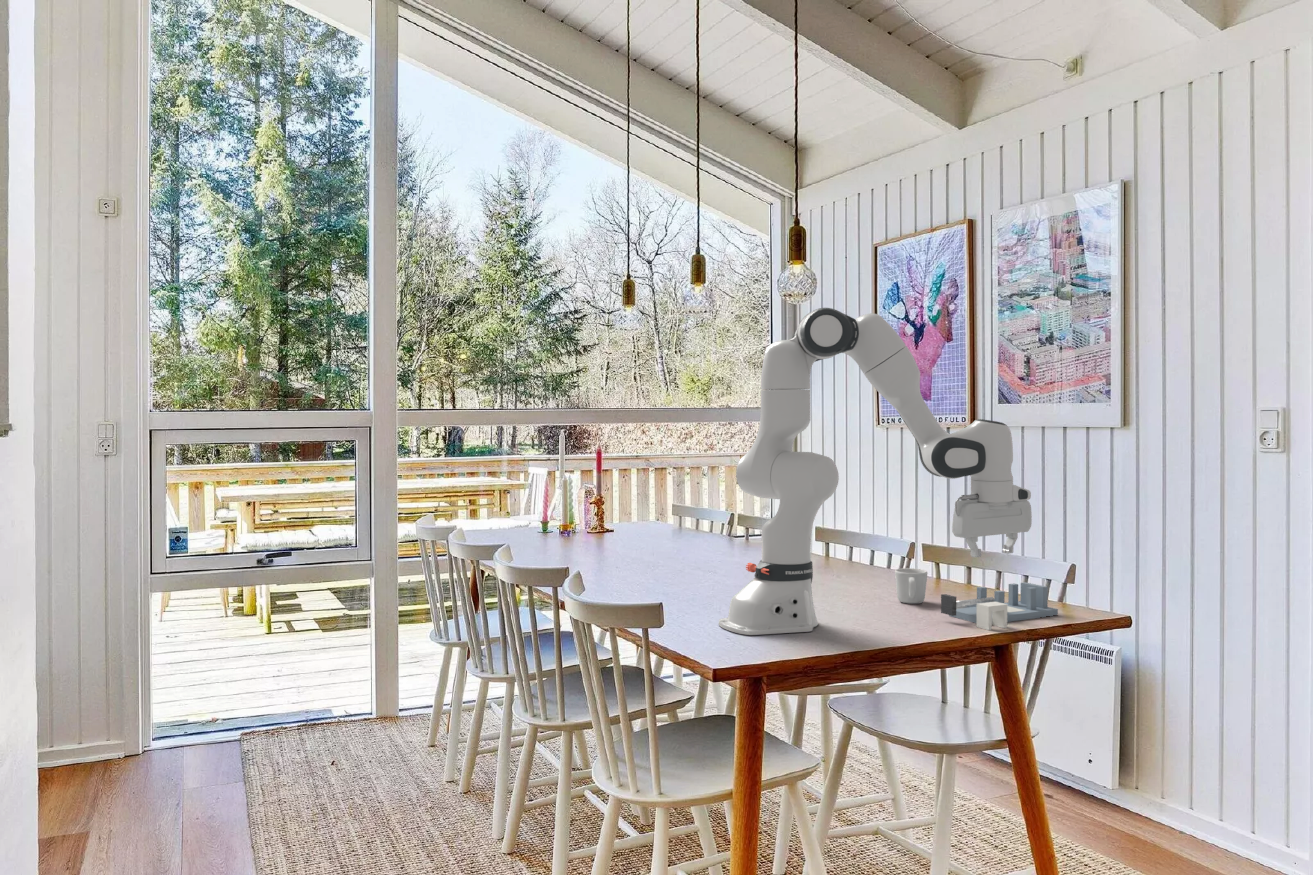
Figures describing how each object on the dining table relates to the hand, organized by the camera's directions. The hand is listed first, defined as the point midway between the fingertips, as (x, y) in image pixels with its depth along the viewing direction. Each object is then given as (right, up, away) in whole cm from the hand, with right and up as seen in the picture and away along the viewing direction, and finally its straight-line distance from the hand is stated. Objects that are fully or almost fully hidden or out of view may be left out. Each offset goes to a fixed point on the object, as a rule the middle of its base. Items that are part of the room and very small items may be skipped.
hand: (992, 555), depth 210 cm
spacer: (0, -16, 0) cm, 16 cm away
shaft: (-2, -14, +8) cm, 16 cm away
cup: (-11, -16, +27) cm, 33 cm away
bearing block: (+7, -16, +12) cm, 21 cm away
